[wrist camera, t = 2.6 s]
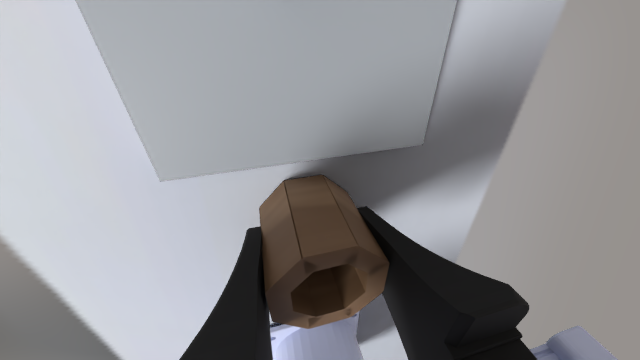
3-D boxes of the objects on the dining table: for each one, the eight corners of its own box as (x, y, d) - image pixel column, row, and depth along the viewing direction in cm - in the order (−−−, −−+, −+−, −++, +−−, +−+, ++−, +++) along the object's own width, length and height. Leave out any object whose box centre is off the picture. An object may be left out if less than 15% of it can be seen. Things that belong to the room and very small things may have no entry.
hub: (345, 235, 16) (379, 309, 12) (268, 251, 15) (276, 338, 11) (348, 170, 13) (395, 237, 9) (254, 185, 12) (258, 267, 8)
